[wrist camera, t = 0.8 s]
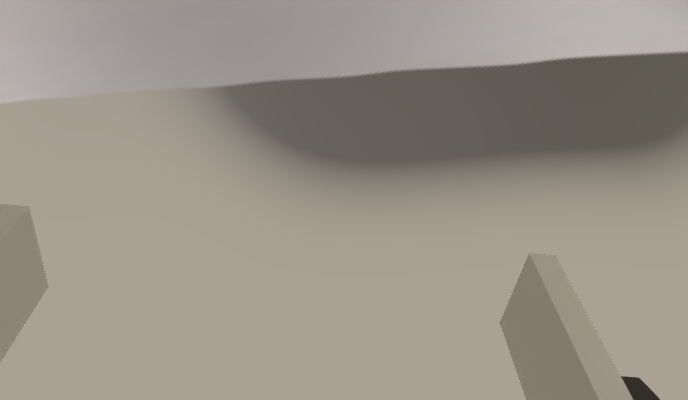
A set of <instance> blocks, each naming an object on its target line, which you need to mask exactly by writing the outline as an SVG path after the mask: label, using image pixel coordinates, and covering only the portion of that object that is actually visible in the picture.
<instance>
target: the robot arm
mask: <svg viewBox="0 0 688 400" xmlns="http://www.w3.org/2000/svg"><path fill="white" fill-rule="evenodd" d="M47 288H48V283H47V279H46V275H45V271H44V267H43V262H42V258H41V254H40V250H39V246H38V242H37V238H36V233H35V230H34V225H33V221H32V217H31V213H30V209H29V206H18V205H8V204H0V362H1V361H2V359H3V358H4V356H5V354H6V353H7V351H8V349H9V348H10V346H11V345H12V343H13V342H14V340H15V338H16V336H17V335H18V334H19V332H20V331H21V329H22V327H23V326H24V324H25V323H26V321H27V320H28V318H29V316H30V315H31V313H32V312H33V310H34V308H35V307H36V305H37V304H38V302H39V300H40V299H41V297H42V296H43V294H44V293H45V291H46V289H47ZM500 325H501V328H502V331H503V333H504V336H505V339H506V342H507V345H508V348H509V351H510V353H511V357H512V359H513V362H514V365H515V368H516V371H517V374H518V377H519V380H520V383H521V386H522V388H523V391H524V394H525V397H526V400H660V399H659V398H658V397H657V396H656V395H655V394H654V393H653V392H652V391H651V390H650V389H649V387H648V386H647V385H645V383H644V382H643V381H641V379H639V378H636V377H622V376H620V374H619V372H618V370H617V368H616V366H615V364H614V363H613V361H612V359H611V357H610V355H609V353H608V352H607V350H606V348H605V346H604V344H603V342H602V340H601V338H600V337H599V335H598V333H597V331H596V329H595V327H594V325H593V323H592V322H591V320H590V318H589V316H588V314H587V312H586V310H585V309H584V307H583V305H582V303H581V301H580V299H579V297H578V295H577V294H576V292H575V290H574V288H573V286H572V284H571V282H570V281H569V279H568V277H567V275H566V273H565V271H564V270H563V267H562V266H561V264H560V262H559V260H558V258H557V256H556V255H546V254H534V253H529V255H528V258H527V260H526V262H525V264H524V267H523V269H522V272H521V274H520V276H519V279H518V281H517V283H516V286H515V288H514V290H513V293H512V295H511V298H510V300H509V302H508V305H507V307H506V310H505V312H504V314H503V316H502V319H501V321H500Z"/></svg>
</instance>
